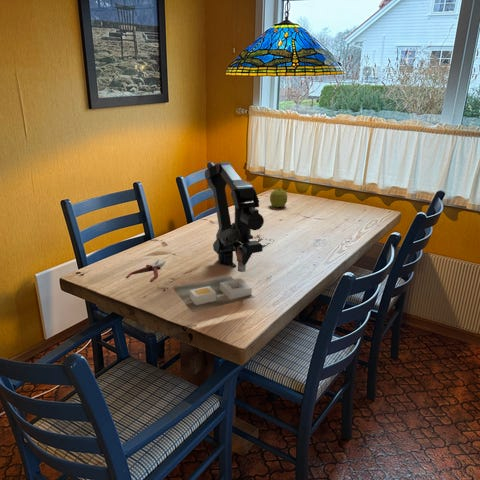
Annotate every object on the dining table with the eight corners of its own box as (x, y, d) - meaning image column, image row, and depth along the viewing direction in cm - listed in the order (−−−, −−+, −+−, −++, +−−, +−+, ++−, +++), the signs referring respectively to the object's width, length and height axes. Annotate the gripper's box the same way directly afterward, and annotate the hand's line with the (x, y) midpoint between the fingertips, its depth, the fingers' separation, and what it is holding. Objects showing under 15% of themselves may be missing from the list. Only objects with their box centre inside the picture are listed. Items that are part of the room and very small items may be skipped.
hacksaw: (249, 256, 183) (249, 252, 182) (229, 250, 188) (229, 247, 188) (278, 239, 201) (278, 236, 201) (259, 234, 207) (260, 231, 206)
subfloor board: (172, 291, 152) (172, 287, 151) (230, 279, 161) (230, 275, 161) (192, 316, 137) (192, 311, 136) (254, 301, 147) (254, 297, 146)
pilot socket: (219, 289, 151) (219, 282, 150) (240, 284, 154) (240, 278, 153) (230, 299, 144) (230, 292, 143) (251, 294, 148) (251, 287, 147)
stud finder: (189, 298, 144) (189, 289, 143) (209, 294, 147) (209, 285, 146) (195, 305, 140) (195, 296, 139) (215, 300, 143) (215, 291, 142)
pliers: (175, 265, 173) (175, 259, 172) (153, 287, 155) (152, 281, 154) (149, 261, 176) (148, 255, 175) (123, 283, 158) (123, 277, 157)
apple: (278, 203, 255) (279, 185, 251) (290, 207, 248) (291, 188, 244) (265, 206, 249) (266, 187, 245) (277, 210, 242) (278, 191, 238)
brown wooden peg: (234, 269, 159) (235, 246, 156) (243, 267, 161) (244, 244, 158) (239, 273, 156) (240, 249, 153) (248, 271, 158) (249, 248, 155)
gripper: (210, 216, 156) (210, 257, 162) (234, 232, 141) (233, 277, 146) (238, 212, 161) (237, 252, 166) (264, 228, 146) (262, 271, 151)
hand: (241, 262), depth 157 cm, fingers closed on brown wooden peg, 4 cm apart
